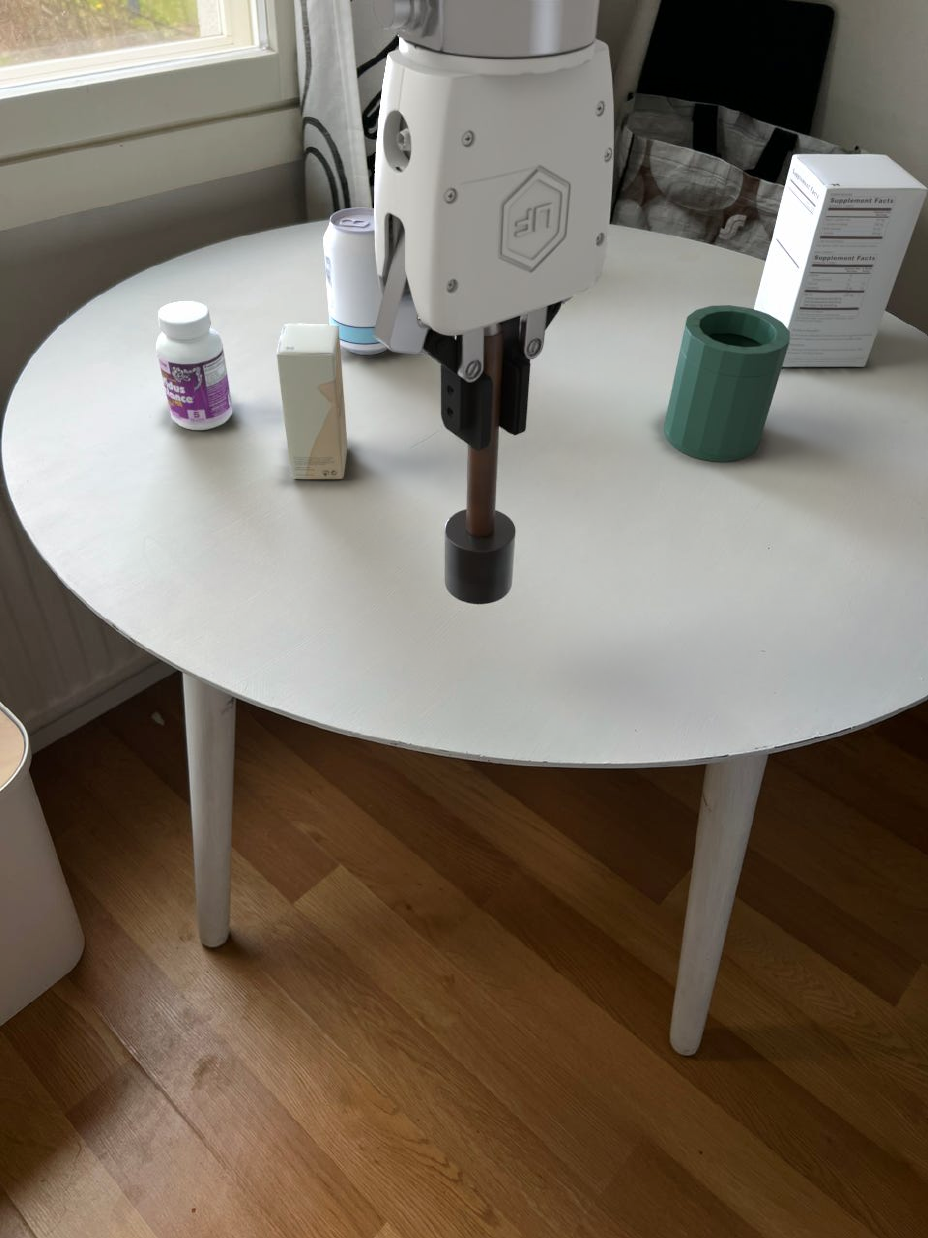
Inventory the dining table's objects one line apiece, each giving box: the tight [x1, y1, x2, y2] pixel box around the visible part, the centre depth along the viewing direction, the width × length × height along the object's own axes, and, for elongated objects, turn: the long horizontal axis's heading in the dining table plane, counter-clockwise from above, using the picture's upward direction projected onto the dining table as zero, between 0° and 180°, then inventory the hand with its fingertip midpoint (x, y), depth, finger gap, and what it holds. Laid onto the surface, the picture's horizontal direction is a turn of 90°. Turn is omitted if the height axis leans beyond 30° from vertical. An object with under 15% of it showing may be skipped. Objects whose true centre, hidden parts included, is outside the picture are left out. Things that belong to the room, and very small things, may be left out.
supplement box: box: [753, 153, 928, 368], centre depth 87 cm, size 10×9×17 cm
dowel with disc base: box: [444, 323, 517, 605], centre depth 49 cm, size 4×4×16 cm
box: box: [276, 323, 348, 480], centre depth 72 cm, size 5×4×11 cm
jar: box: [663, 304, 790, 463], centre depth 77 cm, size 8×8×10 cm
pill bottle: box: [155, 300, 234, 431], centre depth 77 cm, size 5×5×10 cm
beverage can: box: [322, 206, 389, 356], centre depth 86 cm, size 7×7×12 cm
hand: (483, 427), depth 47 cm, fingers closed on dowel with disc base
